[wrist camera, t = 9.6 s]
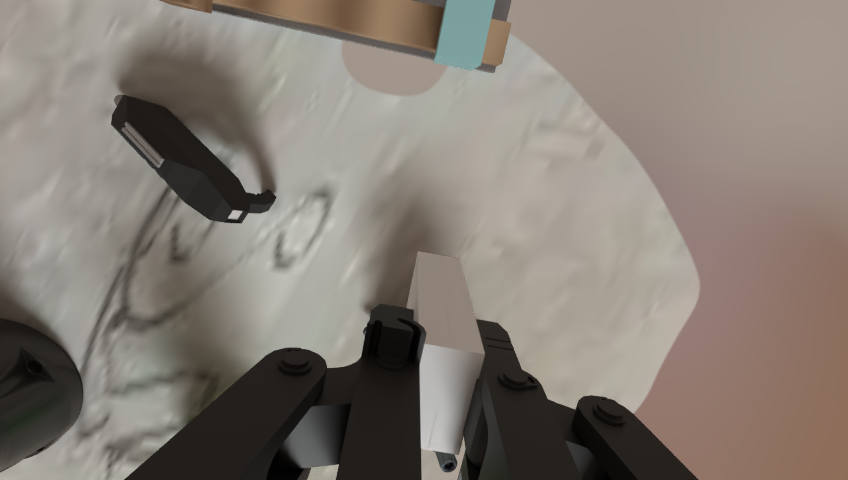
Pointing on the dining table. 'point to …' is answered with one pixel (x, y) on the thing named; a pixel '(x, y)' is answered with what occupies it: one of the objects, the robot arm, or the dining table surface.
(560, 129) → the dining table surface
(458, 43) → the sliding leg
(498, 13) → the bolt plate
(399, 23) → the wooden clamp
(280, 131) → the dining table surface
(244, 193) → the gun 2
